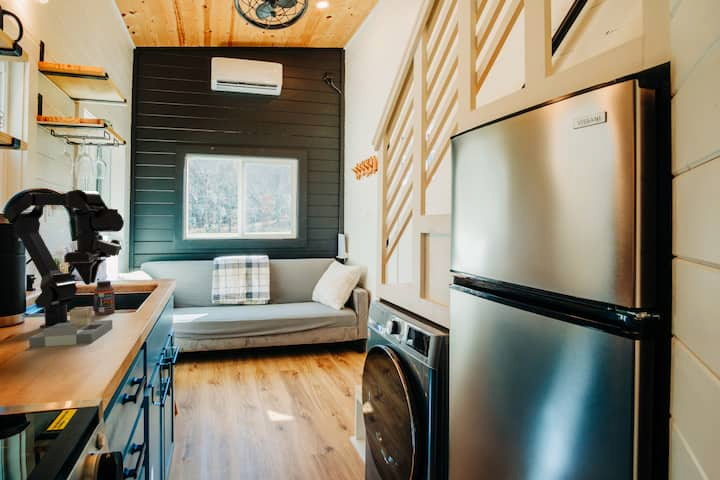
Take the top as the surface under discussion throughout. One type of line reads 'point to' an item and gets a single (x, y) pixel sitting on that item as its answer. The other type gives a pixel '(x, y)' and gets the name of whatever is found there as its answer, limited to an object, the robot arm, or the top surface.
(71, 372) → the top surface
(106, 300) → the supplement bottle
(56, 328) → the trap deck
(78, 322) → the maple block
